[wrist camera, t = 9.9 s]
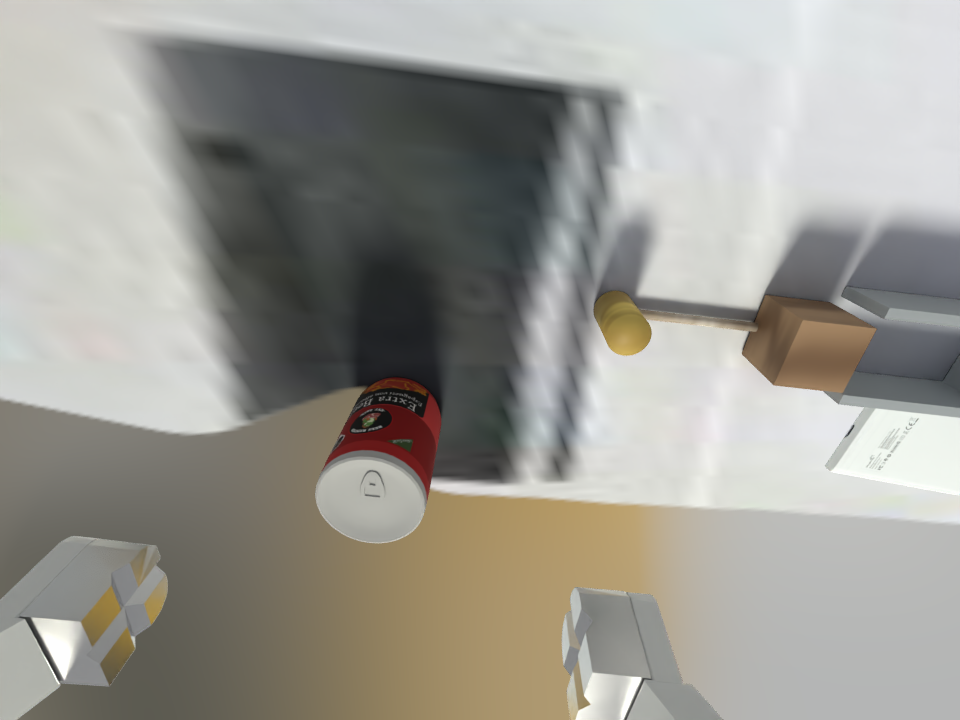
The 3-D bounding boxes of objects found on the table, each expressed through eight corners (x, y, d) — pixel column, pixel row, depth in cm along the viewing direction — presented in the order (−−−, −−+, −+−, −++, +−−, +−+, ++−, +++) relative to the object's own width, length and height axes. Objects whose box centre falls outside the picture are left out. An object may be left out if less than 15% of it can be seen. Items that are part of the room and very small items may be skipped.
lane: (846, 286, 36) (890, 307, 32) (1002, 304, 36) (1065, 328, 32) (803, 374, 39) (838, 404, 35) (946, 390, 39) (997, 421, 35)
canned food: (433, 369, 40) (412, 450, 30) (450, 445, 44) (436, 540, 34) (345, 379, 41) (297, 462, 31) (369, 453, 45) (332, 548, 35)
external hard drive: (945, 484, 45) (820, 462, 44) (1006, 413, 41) (870, 387, 40) (960, 497, 43) (831, 474, 42) (1024, 424, 39) (885, 397, 39)
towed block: (601, 275, 36) (615, 298, 31) (830, 302, 36) (877, 328, 32) (587, 336, 38) (599, 365, 34) (802, 360, 38) (842, 393, 34)
